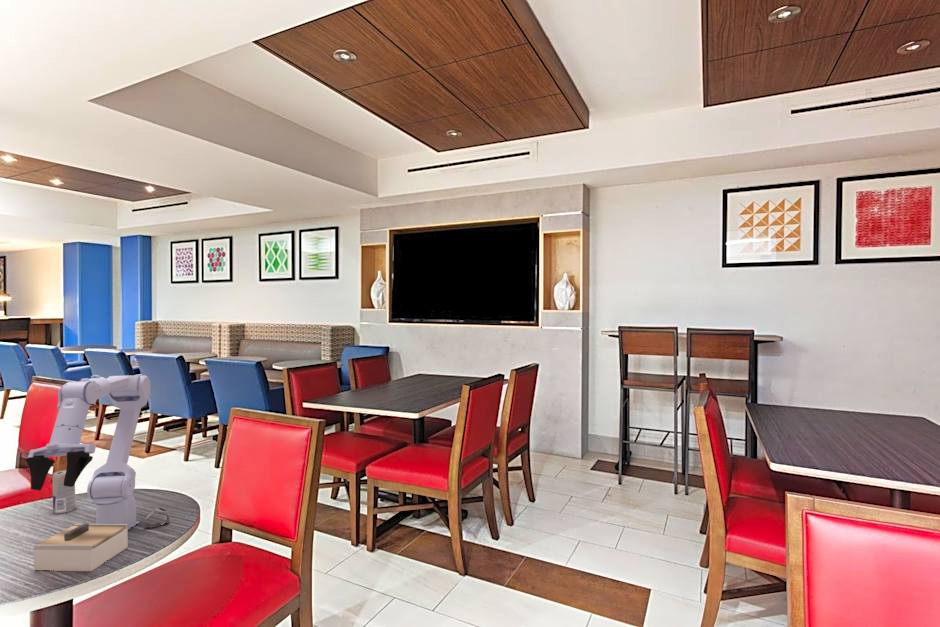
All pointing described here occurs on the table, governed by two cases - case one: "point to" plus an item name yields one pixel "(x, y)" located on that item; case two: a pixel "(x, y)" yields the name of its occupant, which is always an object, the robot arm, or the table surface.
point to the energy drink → (62, 494)
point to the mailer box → (80, 553)
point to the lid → (83, 535)
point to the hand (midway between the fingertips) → (52, 488)
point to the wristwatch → (153, 513)
